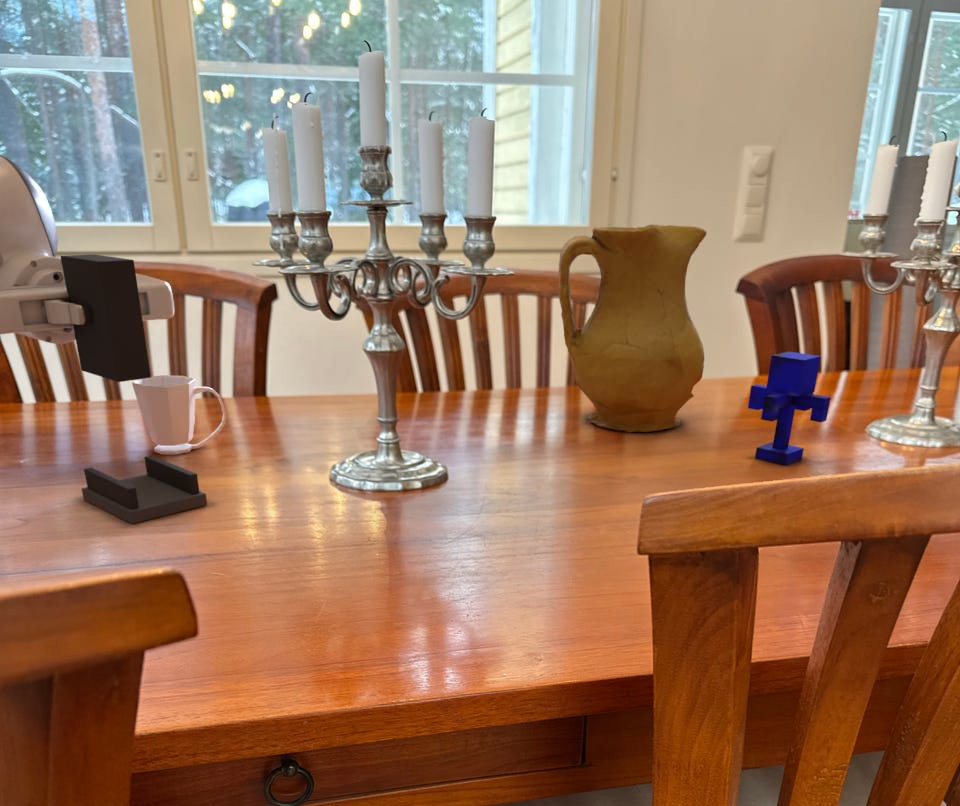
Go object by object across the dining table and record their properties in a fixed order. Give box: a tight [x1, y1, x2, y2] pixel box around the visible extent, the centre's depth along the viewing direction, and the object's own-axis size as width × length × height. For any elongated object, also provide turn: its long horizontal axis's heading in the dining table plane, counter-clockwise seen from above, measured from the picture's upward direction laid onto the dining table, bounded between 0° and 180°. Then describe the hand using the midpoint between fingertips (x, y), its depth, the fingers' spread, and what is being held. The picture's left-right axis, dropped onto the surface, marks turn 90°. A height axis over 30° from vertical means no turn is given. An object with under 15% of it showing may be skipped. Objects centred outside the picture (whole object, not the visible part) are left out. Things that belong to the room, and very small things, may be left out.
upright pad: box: [60, 253, 152, 383], centre depth 89 cm, size 4×8×11 cm, turn 47°
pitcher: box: [558, 223, 707, 433], centre depth 118 cm, size 17×19×25 cm
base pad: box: [81, 455, 208, 525], centre depth 89 cm, size 8×10×3 cm
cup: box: [131, 374, 227, 455], centre depth 105 cm, size 7×10×8 cm
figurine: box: [747, 351, 832, 466], centre depth 105 cm, size 8×8×12 cm
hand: (110, 313), depth 88 cm, fingers closed on upright pad, 3 cm apart
